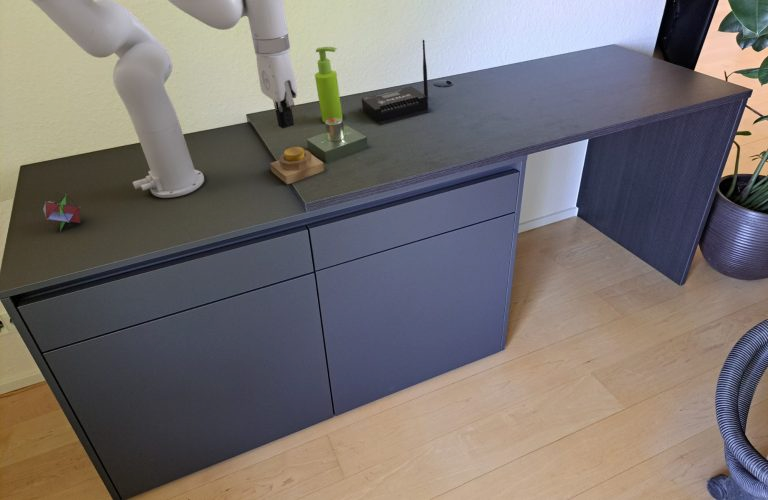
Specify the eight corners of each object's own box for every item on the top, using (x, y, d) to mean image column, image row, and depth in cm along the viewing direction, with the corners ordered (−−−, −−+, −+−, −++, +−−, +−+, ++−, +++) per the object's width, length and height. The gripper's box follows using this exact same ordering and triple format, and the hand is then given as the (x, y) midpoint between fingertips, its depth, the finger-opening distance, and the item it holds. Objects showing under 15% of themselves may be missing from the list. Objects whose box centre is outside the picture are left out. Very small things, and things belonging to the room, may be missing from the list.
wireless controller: (379, 125, 153) (373, 62, 143) (360, 109, 164) (353, 50, 154) (443, 108, 158) (441, 47, 149) (421, 94, 169) (418, 36, 159)
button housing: (287, 184, 130) (283, 169, 127) (271, 171, 136) (268, 156, 134) (324, 170, 134) (322, 155, 131) (307, 158, 140) (305, 143, 138)
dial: (347, 137, 141) (345, 119, 138) (332, 143, 139) (329, 125, 136) (339, 132, 144) (337, 114, 141) (324, 137, 142) (321, 119, 139)
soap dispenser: (343, 123, 156) (332, 50, 145) (319, 123, 158) (307, 51, 146) (348, 114, 161) (338, 44, 149) (325, 115, 162) (314, 45, 151)
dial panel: (326, 162, 137) (324, 151, 135) (308, 149, 144) (306, 138, 142) (367, 147, 142) (366, 136, 140) (348, 135, 149) (346, 124, 147)
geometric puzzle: (93, 205, 125) (59, 183, 121) (85, 220, 120) (49, 198, 116) (75, 225, 127) (41, 204, 123) (66, 241, 122) (30, 220, 118)
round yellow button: (290, 164, 130) (289, 157, 129) (282, 157, 133) (281, 150, 132) (308, 157, 132) (306, 151, 131) (299, 151, 135) (298, 145, 134)
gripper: (241, 41, 121) (258, 120, 132) (269, 55, 111) (285, 140, 121) (273, 34, 124) (287, 112, 135) (303, 47, 114) (315, 131, 124)
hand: (286, 125), depth 128 cm, fingers closed
